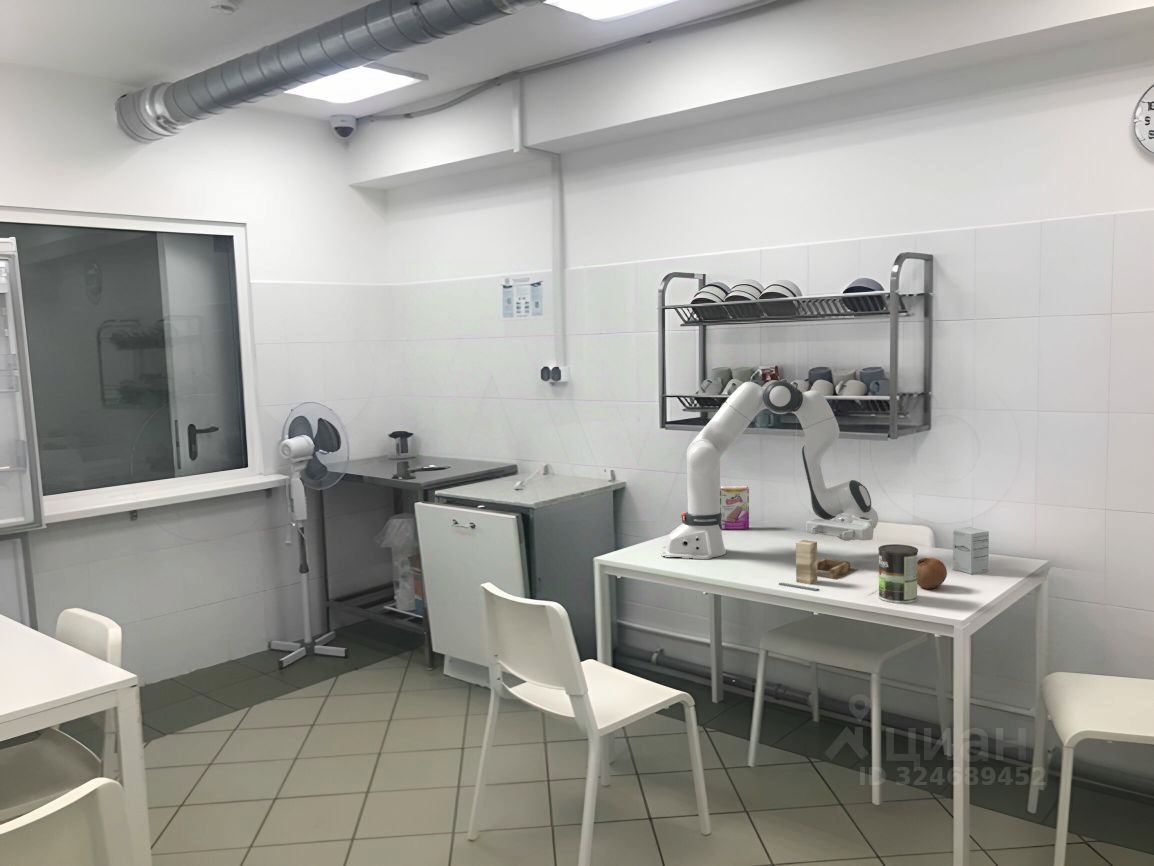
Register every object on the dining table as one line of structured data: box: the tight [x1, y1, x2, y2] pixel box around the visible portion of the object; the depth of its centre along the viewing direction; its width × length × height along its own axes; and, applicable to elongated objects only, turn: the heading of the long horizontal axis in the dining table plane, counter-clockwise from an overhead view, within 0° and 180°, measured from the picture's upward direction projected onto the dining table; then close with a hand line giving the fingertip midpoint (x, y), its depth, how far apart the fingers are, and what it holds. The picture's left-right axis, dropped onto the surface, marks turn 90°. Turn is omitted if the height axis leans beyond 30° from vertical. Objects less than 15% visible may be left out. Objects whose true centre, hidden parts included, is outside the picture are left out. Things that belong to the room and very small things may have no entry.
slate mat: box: [778, 582, 820, 592], centre depth 267 cm, size 12×12×1 cm
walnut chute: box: [817, 557, 859, 580], centre depth 278 cm, size 15×12×3 cm
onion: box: [917, 556, 948, 590], centre depth 258 cm, size 10×9×10 cm
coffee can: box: [878, 543, 919, 604], centre depth 248 cm, size 10×10×14 cm
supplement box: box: [952, 526, 990, 575], centre depth 274 cm, size 7×7×13 cm
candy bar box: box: [720, 485, 750, 531], centre depth 347 cm, size 11×5×16 cm, turn 84°
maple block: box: [795, 539, 818, 585], centre depth 267 cm, size 4×4×12 cm
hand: (827, 533), depth 277 cm, fingers open, 8 cm apart
